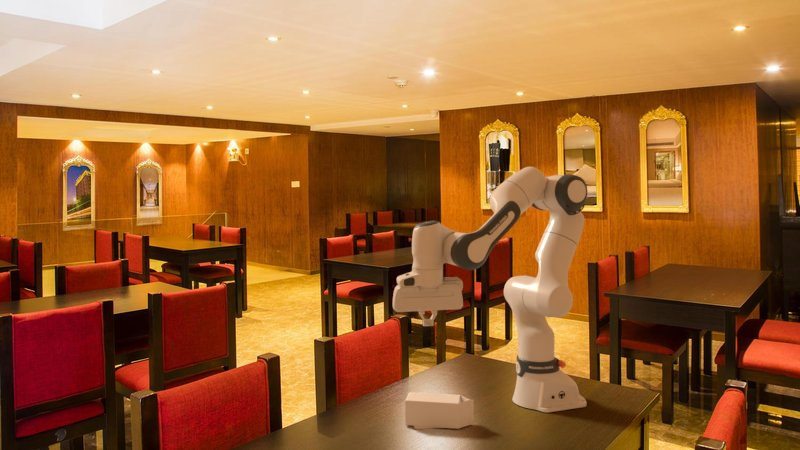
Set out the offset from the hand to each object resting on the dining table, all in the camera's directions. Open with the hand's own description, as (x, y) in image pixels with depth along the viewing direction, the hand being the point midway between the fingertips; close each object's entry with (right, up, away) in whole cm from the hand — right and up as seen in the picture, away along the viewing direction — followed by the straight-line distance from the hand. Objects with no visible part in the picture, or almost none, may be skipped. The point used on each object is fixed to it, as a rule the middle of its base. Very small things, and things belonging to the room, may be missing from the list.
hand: (428, 325), depth 168 cm
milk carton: (-6, -23, -1) cm, 24 cm away
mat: (+2, -27, +1) cm, 27 cm away
